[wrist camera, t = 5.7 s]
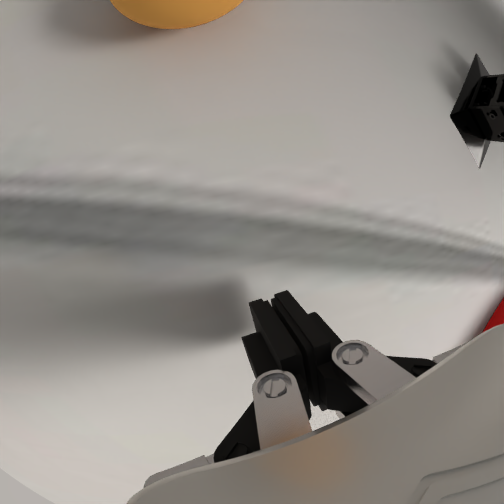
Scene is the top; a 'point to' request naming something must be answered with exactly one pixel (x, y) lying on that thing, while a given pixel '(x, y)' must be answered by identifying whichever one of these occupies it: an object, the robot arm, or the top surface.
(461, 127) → the black boxy piece
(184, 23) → the ball
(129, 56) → the top surface
